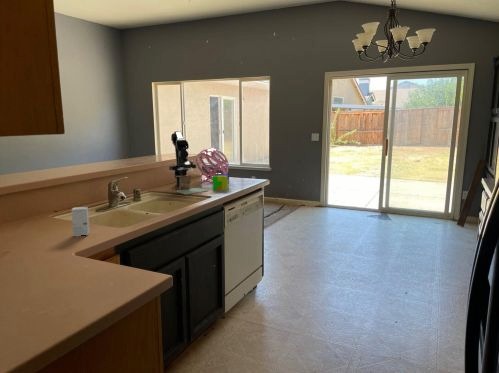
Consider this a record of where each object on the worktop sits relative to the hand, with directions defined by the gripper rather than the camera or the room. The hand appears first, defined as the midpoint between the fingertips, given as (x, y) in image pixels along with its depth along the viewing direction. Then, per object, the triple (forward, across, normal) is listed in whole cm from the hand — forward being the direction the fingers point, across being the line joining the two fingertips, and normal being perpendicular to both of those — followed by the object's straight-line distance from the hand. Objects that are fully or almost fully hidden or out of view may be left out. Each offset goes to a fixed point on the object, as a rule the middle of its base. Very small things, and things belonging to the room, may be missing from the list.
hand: (183, 179), depth 258 cm
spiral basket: (+8, +34, +14) cm, 38 cm away
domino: (+7, 0, -1) cm, 7 cm away
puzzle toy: (+8, +21, -17) cm, 28 cm away
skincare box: (+8, -84, -66) cm, 107 cm away
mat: (+8, +1, -10) cm, 13 cm away
